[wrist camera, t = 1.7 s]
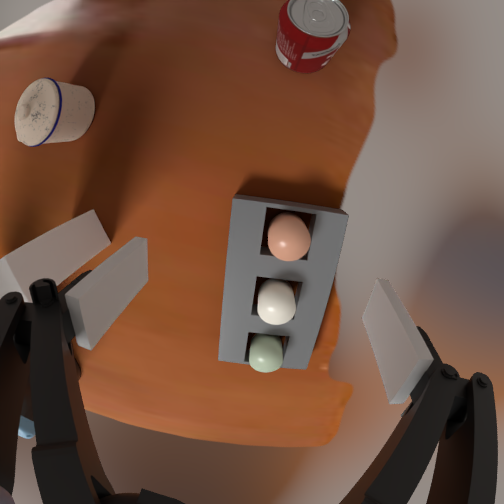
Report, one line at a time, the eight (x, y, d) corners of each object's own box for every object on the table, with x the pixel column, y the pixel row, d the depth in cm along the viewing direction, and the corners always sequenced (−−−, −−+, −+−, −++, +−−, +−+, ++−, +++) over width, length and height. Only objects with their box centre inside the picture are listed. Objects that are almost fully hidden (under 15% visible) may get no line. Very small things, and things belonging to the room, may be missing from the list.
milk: (94, 208, 37) (-17, 267, 16) (112, 243, 39) (14, 324, 18) (69, 225, 38) (-32, 286, 17) (87, 258, 40) (-4, 335, 19)
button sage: (278, 356, 43) (279, 373, 39) (248, 352, 43) (247, 370, 39) (284, 333, 41) (285, 350, 37) (252, 329, 41) (251, 346, 37)
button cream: (289, 310, 39) (291, 326, 36) (256, 306, 39) (255, 322, 36) (296, 280, 38) (299, 295, 34) (260, 275, 38) (260, 290, 34)
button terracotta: (302, 251, 36) (306, 263, 32) (265, 246, 36) (265, 258, 32) (309, 215, 34) (314, 223, 31) (270, 209, 34) (271, 217, 31)
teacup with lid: (89, 73, 29) (39, 60, 18) (104, 124, 32) (51, 123, 21) (37, 114, 31) (-13, 115, 20) (49, 161, 34) (-2, 173, 23)
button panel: (304, 357, 44) (306, 369, 42) (220, 348, 44) (218, 360, 42) (342, 209, 35) (348, 215, 33) (235, 194, 35) (232, 198, 32)
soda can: (278, 75, 30) (284, 42, 18) (272, 30, 27) (275, -15, 16) (331, 74, 29) (361, 45, 18) (324, 30, 27) (348, -11, 15)
